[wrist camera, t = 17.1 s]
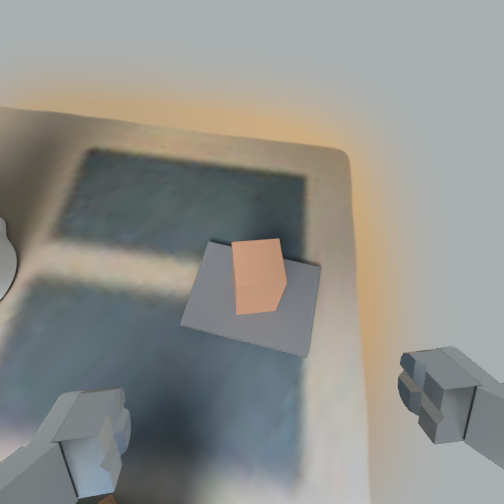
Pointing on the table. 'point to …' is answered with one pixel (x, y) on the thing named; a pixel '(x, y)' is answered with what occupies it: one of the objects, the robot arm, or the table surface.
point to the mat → (255, 324)
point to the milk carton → (108, 500)
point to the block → (257, 275)
